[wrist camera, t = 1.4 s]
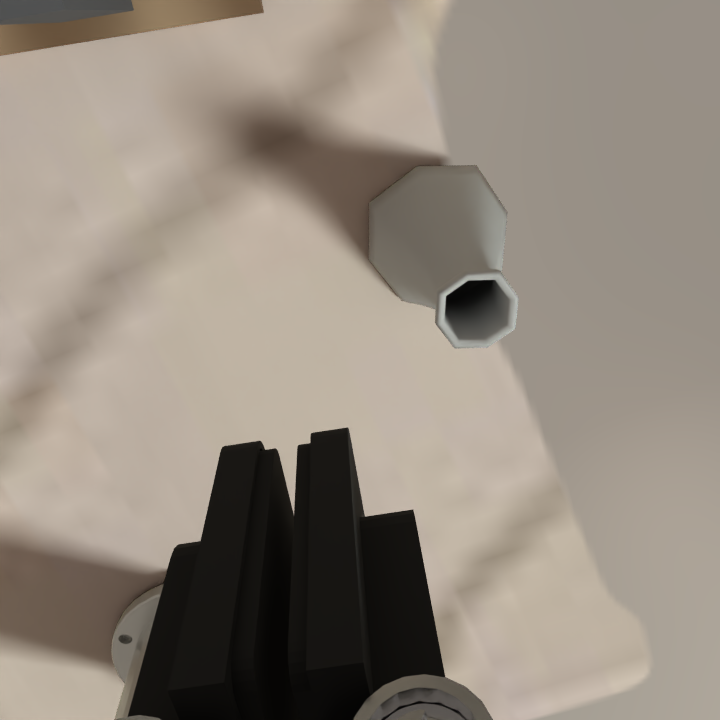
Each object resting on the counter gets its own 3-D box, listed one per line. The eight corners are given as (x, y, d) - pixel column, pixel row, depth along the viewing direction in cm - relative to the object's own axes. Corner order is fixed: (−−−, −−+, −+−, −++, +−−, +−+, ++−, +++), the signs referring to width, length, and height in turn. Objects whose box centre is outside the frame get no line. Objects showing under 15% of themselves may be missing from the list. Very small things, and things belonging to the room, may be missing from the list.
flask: (389, 319, 36) (412, 418, 27) (344, 190, 33) (354, 255, 24) (521, 275, 36) (589, 363, 27) (489, 139, 32) (553, 187, 23)
